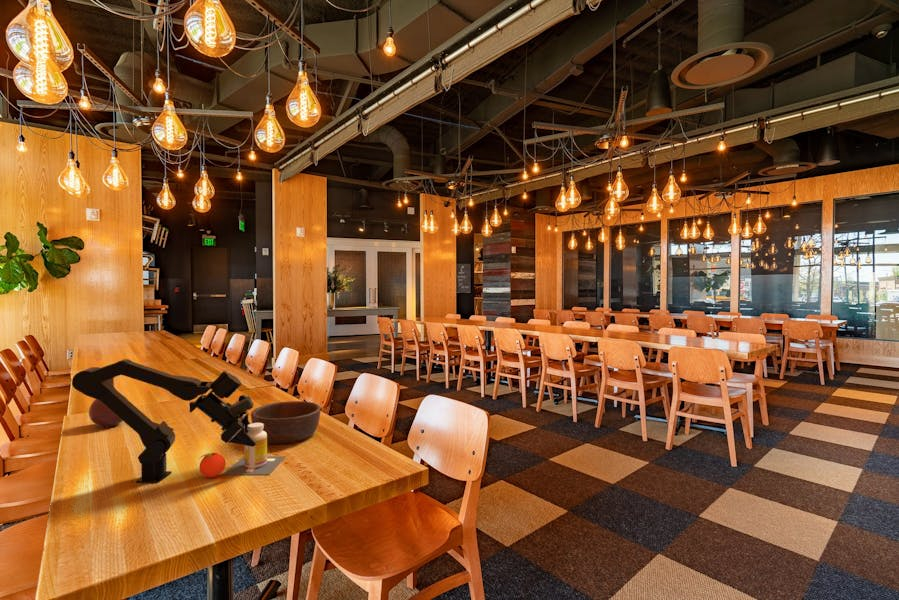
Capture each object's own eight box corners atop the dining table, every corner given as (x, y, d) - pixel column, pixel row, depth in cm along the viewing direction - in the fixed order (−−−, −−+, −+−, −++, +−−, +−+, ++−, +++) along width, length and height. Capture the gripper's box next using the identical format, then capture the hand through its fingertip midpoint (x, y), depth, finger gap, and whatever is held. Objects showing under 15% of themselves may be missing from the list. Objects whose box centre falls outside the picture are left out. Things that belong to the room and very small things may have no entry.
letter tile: (269, 475, 130) (269, 474, 130) (222, 475, 129) (222, 474, 129) (285, 456, 144) (285, 456, 144) (243, 456, 143) (243, 456, 143)
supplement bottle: (270, 460, 140) (270, 421, 140) (262, 469, 133) (262, 428, 133) (249, 460, 140) (249, 421, 139) (240, 469, 133) (240, 428, 133)
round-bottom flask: (88, 425, 174) (87, 376, 173) (128, 419, 182) (128, 372, 182) (89, 433, 164) (88, 381, 163) (131, 426, 173) (131, 377, 172)
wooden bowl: (262, 453, 147) (262, 423, 147) (243, 433, 166) (243, 407, 166) (331, 437, 163) (331, 411, 163) (306, 421, 182) (306, 397, 182)
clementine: (192, 483, 124) (192, 458, 124) (198, 473, 130) (198, 450, 130) (222, 480, 126) (222, 456, 126) (227, 470, 133) (227, 447, 133)
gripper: (233, 396, 125) (274, 429, 129) (239, 383, 143) (275, 412, 147) (202, 426, 123) (245, 459, 127) (213, 408, 140) (250, 438, 144)
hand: (255, 440), depth 136 cm, fingers open, 9 cm apart
